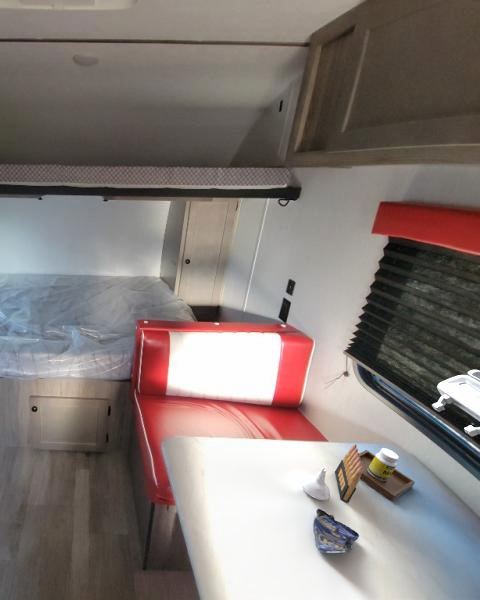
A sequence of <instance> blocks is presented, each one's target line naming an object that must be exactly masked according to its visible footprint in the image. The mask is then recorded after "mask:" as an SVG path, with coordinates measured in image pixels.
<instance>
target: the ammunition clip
mask: <svg viewBox="0 0 480 600" xmlns="http://www.w3.org/2000/svg"><path fill="white" fill-rule="evenodd" d="M359 453H360V452H359V450H358V448H357V444H353V445H352V446H351V447H350V449H349V450H348V452H347V453H346V454H345V456H344V458H343V459H341V460H340V462H339V464H338V466H337V467H336V469H335V470H334V475H335V481H336V486H337V490H338V494H339V499H340V500H341V501H343V502H345V503H348V504H349V503H350V501H351V499H352V498H353V496H354V495H355V492H356V490H357V486H358V483H359V482H360V480H361V479H360V477H361V475H362V472H363V466H362V462H361V461H360V460H361V459H360V457H359Z"/></svg>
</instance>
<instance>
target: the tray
mask: <svg viewBox="0 0 480 600" xmlns="http://www.w3.org/2000/svg"><path fill="white" fill-rule="evenodd" d="M358 453H359V457H360V459H361V460H360V461H361V462H362V466H363V472H362V475H361V477H360V480H361V481H362V482H364V483H365V484H366V485H368V486H369V487H371V488H372V489H373V490H375V491H376V492H378V493H379V494H381V495H382V496H383V497H384V498H385V499H387V500H388V501H390V502H393V501H394V500H396V499H397V498H398V497H400V496H402V495H403V494H404V493H406V492H407V491H409V490H410V489H411V488H413V487H414V485H415V483H416V481H415V480H413V479H411V478H410V477H408V476H407V475H406V474H404V473H403V472H401V471H399V470H398V469H397V468H395V469H394V470H393V472H392V474H391V475H390V477H389V478H388V480H387V481H381V480H378V479H376V478H375V477H373V476H372V475H371V474H370V473H369V472H368V467H369V465H370V464H371V462H372V460H373V459H374V457H375V455H376V454H374V453H372V452H371V451H369V450H368V449H365V450H364V451H362V452H358Z"/></svg>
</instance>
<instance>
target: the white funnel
mask: <svg viewBox="0 0 480 600" xmlns="http://www.w3.org/2000/svg"><path fill="white" fill-rule="evenodd" d="M326 473H327V469H326V468H325V467H320V470H319V472H318V473H317V474H316V475H307V476H305V477H304V478H303V479H302V481H301V487H302V489H303V491H304V492H305V493H306V494H307V495H309V496H310V497H312V498H314V499H316V500H320V501H325V500H328V499H329V498H330V495H331V489H330V487H329V485H328V484H327V483H326V482H325V479H326Z"/></svg>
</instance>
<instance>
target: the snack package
mask: <svg viewBox="0 0 480 600" xmlns="http://www.w3.org/2000/svg"><path fill="white" fill-rule="evenodd" d="M312 526H313V529H312V530H313V535H314V542H315V546H316V548H317V549H318V551H319V552H320V553H327V554H328V553H330V554H338V553H349V552H351V551H352V549H353V544H354V542H356V541H358V539H359V538H360V534H359V533H358V532H357V531H355V529H353V528H351V527H350V526H347V525H346V524H345V523H343V522H341V521H339V520H336V519H335V516H334V514H329V513H328V512H327V511H325V510H324V509H321V508H317V509H316V516H315V517H314V520H313V524H312Z"/></svg>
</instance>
